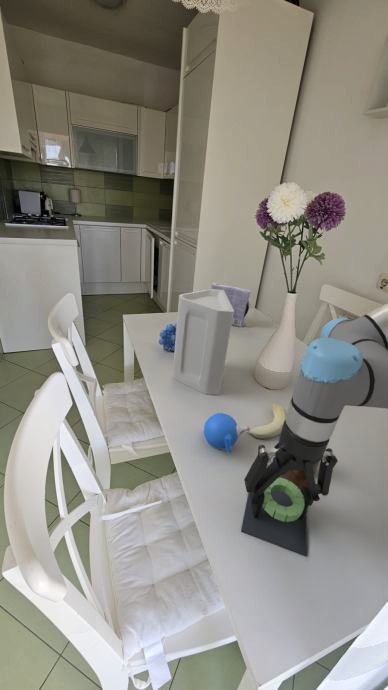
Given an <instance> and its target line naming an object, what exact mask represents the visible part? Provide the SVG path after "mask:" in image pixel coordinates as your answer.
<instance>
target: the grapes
mask: <svg viewBox="0 0 388 690" xmlns="http://www.w3.org/2000/svg"><path fill="white" fill-rule="evenodd" d="M176 328H177V322H176V323H175V324H172V323H168V324H167V325H166V327H165V329H162V330H161V331H160V332H159V336H160V338H159V339H158V344H159V345H161V346H162V349H163V350H164V351H168V350H170V351H171V352H175V340H176Z"/></svg>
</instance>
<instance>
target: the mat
mask: <svg viewBox="0 0 388 690" xmlns="http://www.w3.org/2000/svg"><path fill="white" fill-rule="evenodd" d="M250 494H251V493H248V492H247V497H246V502H245V507H244V513H243V517H242V518H243V519H242V523H241V528H240V532H241V533H244V534H247V535H249V536H252V537H254V538H257V539H259V540H262V541H265V542H267V543H269V544H272V545H276V546H277V547H280V548H283V549H286V550H288V551H291V552H293V553H295V554H298V555H301V556H304V557H307V511H306V512H305V515H304V517H303V519H302V520H299V519H297V520H296V519H295V521H289V522H286V521H284V522H283V521H280V520H278V519H275V518H274V516H273V517H272V516H271V515H270V514H268V513H267V512H266V511H265V510H264V509H265V508H263V506H262V507H261V510H260V513H259V516H258V518H254V515H253V510H252V502H251V497H250ZM270 494H271V496H272V498H273V500H274V501H275V502H276V503H277V504H279V505H281V506H284V507H288V506H292V505H293V502H292V500H291V498H290V497H289V496H288V495H287V494H286V493H285V492H282V491H279V490H276V491H272V492H271V493H270Z"/></svg>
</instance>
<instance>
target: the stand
mask: <svg viewBox="0 0 388 690" xmlns="http://www.w3.org/2000/svg"><path fill="white" fill-rule="evenodd" d="M312 466H313V472H314V475H315V474H316V472H317V470H318V468H319V466H320V461H318V462H317V463H315V464H314V465H312ZM279 477H280V478H283V479H287V480H289V482H290V481H291V482H292V483H293V484H294V485H296V486H297V487H298V489H300V491H301V489H302V486H307V482H306V478H305V474H304V471H298V470H289V471H288V472H287V473H286V474H285V475H280V476H279ZM279 477H278V478H279ZM307 489H308V486H307Z"/></svg>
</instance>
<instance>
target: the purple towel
mask: <svg viewBox="0 0 388 690" xmlns="http://www.w3.org/2000/svg"><path fill="white" fill-rule="evenodd" d="M210 289H216V290H224V291H225V293H226V296H227V298H228V300H229V302H230V304H231V306H232V308H233V310H234V314H233V320H232V325H231V326H233V327H239V328H243V326H244V324H245V319H246V316H247V314H248V313H249V310H250V296H251V289H246V288H241V287H236V286H233V285H227V284H223V283H217V282H213V283H211V287H210Z"/></svg>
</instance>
